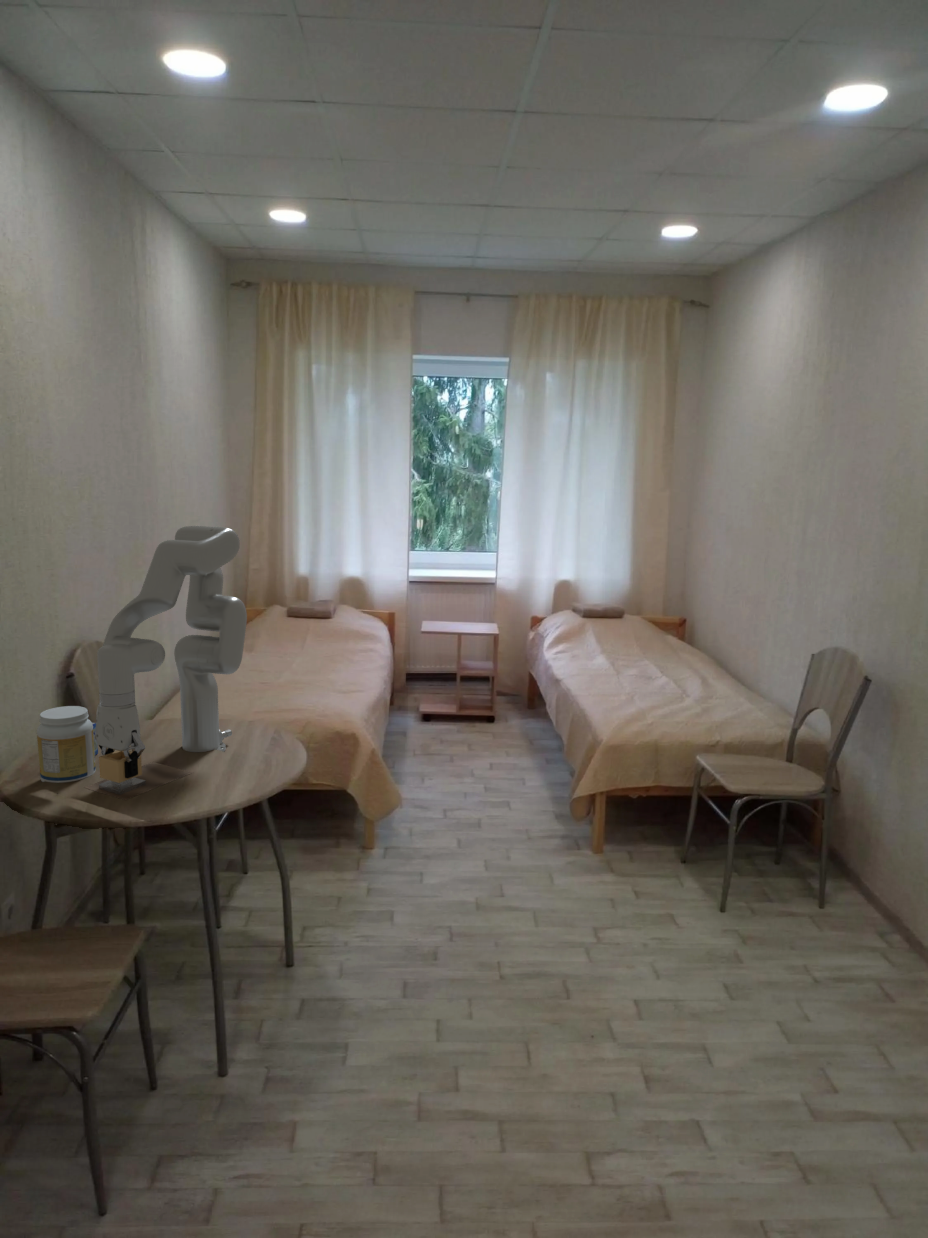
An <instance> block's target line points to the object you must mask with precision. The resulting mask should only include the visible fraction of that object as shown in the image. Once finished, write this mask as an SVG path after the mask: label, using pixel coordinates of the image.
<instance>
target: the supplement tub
mask: <svg viewBox="0 0 928 1238" xmlns="http://www.w3.org/2000/svg"><path fill="white" fill-rule="evenodd" d="M89 716H90V715H89V712H88V708H87V707H83V706H80V705H66V706H57V707H53V708H48V709H46V710H43V711H42V712H40V714H39V723H40V724H39V725H38V726H37V730H36V739H37V752H38V753H37V754H38V764H39V766H38V767H39V774H40V775H39V777H40V778H39V779H40V780H41V782H42V783H45V782H47V783H59V784H60V783H71V782H75V781H76V782H77V781H80V780H83V779H86V778H89V777H91V776H93V775H94V774H95V773H96V772H97V769H96V755H95V751H94V735H93V724H92V723H93V722H92V721H91V720H90V719H89Z"/></svg>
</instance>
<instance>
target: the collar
mask: <svg viewBox="0 0 928 1238" xmlns="http://www.w3.org/2000/svg"><path fill="white" fill-rule="evenodd" d="M129 753H130V754H131V753H132V750H131V751H130V750H129ZM125 761H126V758H125V755H124V752H123V751H118V750H115V751H114V752H112V753H109V754H106V755H100V756H98V764H99V767H98V768H99V778H101V779H103V780H106V779H107V780H110V781H114V782H117V783H120V782H123V781H126V780H128V779H131V778H134V777H137V776H139V775H142V766H143V765H142V764H143V763H142V754H141V755H140V756H139V759H138V775H136V776H133V777H131V778H125V764H124V762H125Z"/></svg>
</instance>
